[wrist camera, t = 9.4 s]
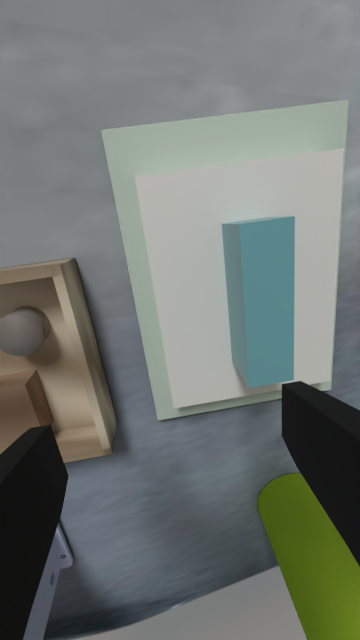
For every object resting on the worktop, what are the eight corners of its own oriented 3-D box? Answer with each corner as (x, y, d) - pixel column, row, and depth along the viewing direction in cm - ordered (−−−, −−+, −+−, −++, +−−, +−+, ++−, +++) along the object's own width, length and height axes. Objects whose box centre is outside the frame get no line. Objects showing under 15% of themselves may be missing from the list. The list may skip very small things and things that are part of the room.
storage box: (117, 422, 21) (112, 454, 18) (-9, 444, 20) (-34, 480, 17) (74, 257, 17) (59, 265, 14) (-84, 280, 16) (-133, 293, 13)
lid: (315, 367, 20) (362, 409, 16) (171, 392, 20) (178, 443, 15) (322, 155, 16) (393, 129, 11) (135, 180, 15) (130, 163, 11)
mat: (326, 385, 22) (331, 389, 21) (157, 415, 21) (157, 420, 20) (341, 104, 15) (348, 99, 15) (103, 133, 15) (101, 130, 14)
